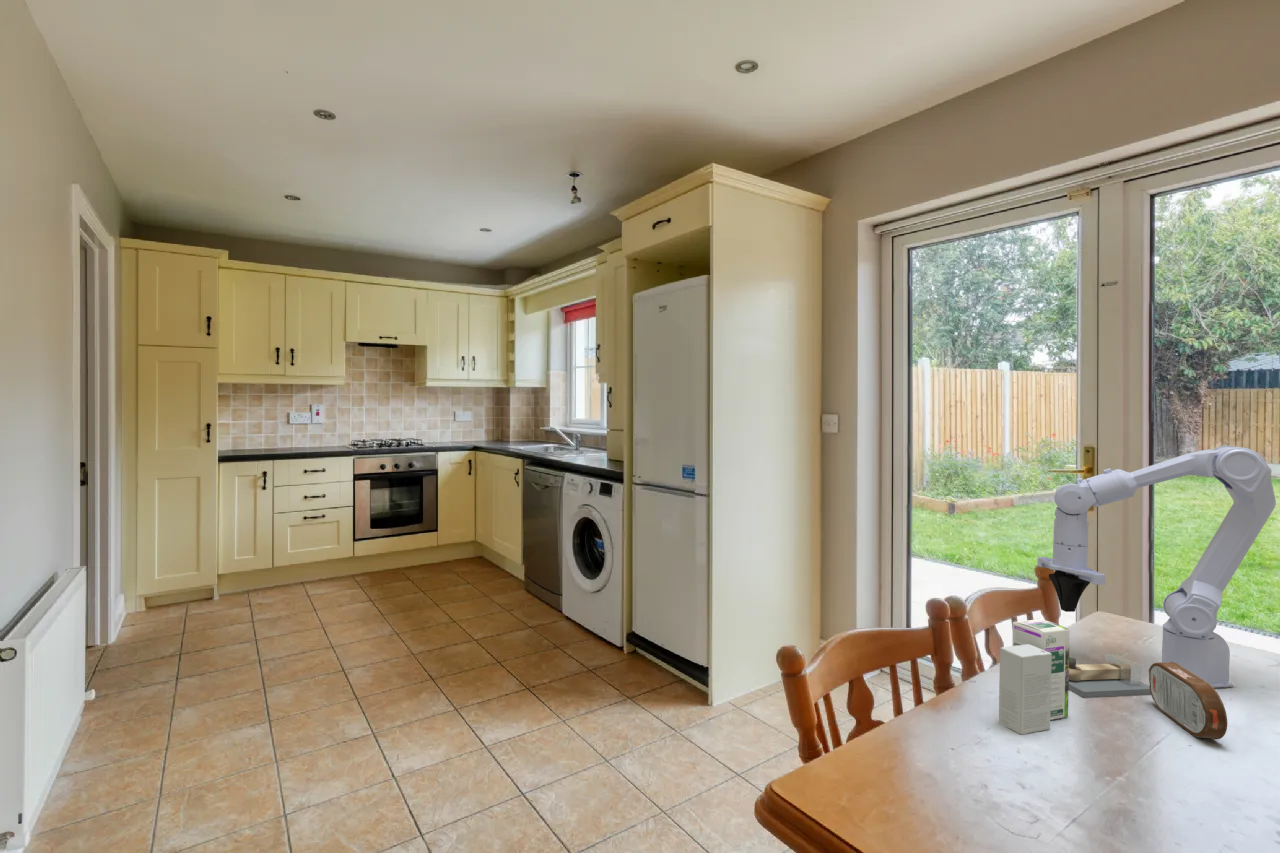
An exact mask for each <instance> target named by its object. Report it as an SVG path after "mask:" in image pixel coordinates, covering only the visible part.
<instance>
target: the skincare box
mask: <svg viewBox="0 0 1280 853" xmlns="http://www.w3.org/2000/svg"><path fill="white" fill-rule="evenodd" d="M1051 666H1052V654H1051V653H1049V652H1047V651H1045V650H1042V649H1040V648H1037V647H1035V646H1032V645H1030V644H1025V645H1018V646H1012V645H1010V646H1003V647H1001V646H1000V648H999V682H998V684H999V685H998V688H999V689H998V692H999V693H998V723H999V724H1001V725H1003V726H1005V727H1007V728H1009V729H1010V730H1011V731H1013V732H1015V733H1018V734H1019V735H1025V734H1031V733H1035V732H1042V731H1046V730H1047V731H1048V730H1050V729H1051V720H1050V712H1051Z"/></svg>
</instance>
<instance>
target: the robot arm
mask: <svg viewBox="0 0 1280 853" xmlns="http://www.w3.org/2000/svg"><path fill="white" fill-rule="evenodd" d="M1185 476H1197V477H1205V478H1215V479H1217V480H1218V481H1219V482H1220V483H1221V484H1222V485H1223V486H1224V488H1225V489H1226V491H1227V493H1228V494H1229V496H1230V498H1231V499H1232V501H1233V503H1232V505H1231V506H1230V508H1229V509H1228V511H1227V513H1226V514H1225V516H1224V518H1223V520H1222V521H1221V523H1220V525H1219V527H1218V528H1217V530H1216V532H1215V533H1214V535H1213V536H1212V538H1211V540H1210V541H1209V543H1208V544H1207V547H1206V548H1205V550H1204V552H1203V553H1202V555H1201V557H1200V558H1199V560H1198V562H1197V564H1196V565H1195V567H1194V569H1193V570H1192V572H1191V574H1190V575H1189V576H1188V577H1186V579H1183V581H1182V582H1181V583H1180V585H1179V587H1177V589H1176V590H1174V591H1172V592H1170V593H1168V594H1167V595H1166V596H1165V597H1164V599H1163V605H1162V606H1163V610H1164V612H1165V614H1166V615H1167V616H1168V617H1169V618H1168V619H1167V621H1165V622H1164V624H1162V640H1161V641H1162V642H1161V643H1162V645H1161V648H1162V649H1161V663H1169V662H1175V663H1177V664H1179V665H1180V666H1182V667H1183V668H1185V669H1187V670H1188V671H1190V672H1191V673H1193V674H1195V675H1196V676H1198V677H1199V678H1201V679H1203V680H1204V681H1206V682H1207V683H1209V684H1210V685H1211V686H1212V687H1213V688H1214V689H1215V688H1233V687H1234V685H1235V684H1234V683H1232V682H1230V680H1229V678H1230V656H1231V655H1230V646H1229V645H1228V643H1227V641H1226V640H1225V639H1224V638H1223V637H1222V636H1221V635H1220V634H1218V633H1216V632H1214V631H1215V630H1216V628H1217V625H1218V624H1217V623H1218V619H1217V615H1218V611H1219V609H1220V608H1221V606H1222V598H1223V592H1224V591H1225V590H1226V588H1227V586H1228V584H1229V583H1230V581H1231V579H1232V578H1233V576H1234V574H1235V573H1236V571H1237V570H1238V568H1239V566H1240V565H1241V564H1242V562H1243V560H1244V559H1245V557H1246V556H1247V554H1248V553H1249V550H1250V548H1251V547H1252V545H1253V544H1254V542H1255V541H1256V539H1257V537H1259V536H1258V535H1259V534H1260V533H1261V530H1262V529H1263V527H1264V526H1265V524H1266V523H1267V521H1268V519H1269V518H1270V516H1271V515H1272V513H1273V511H1274V510H1275V508H1276V505H1277V500H1276V496H1275V492H1274V487H1273V482H1272V468H1271V467H1270V466H1269V464H1268V463H1267V461H1265V459H1264V458H1263V457H1262V456H1261V455H1260V453H1258V452H1257V451H1255V450H1253V449H1251V448H1246V447H1241V446H1240V447H1239V446H1238V447H1237V446H1235V445H1234V446H1233V445H1222V446H1221V445H1220V446H1218V447H1215V448H1213V449H1209V448H1208V449H1203V450H1197V451H1194V452H1189V453H1185V454H1182V455H1179V456H1176V457H1173V458H1170V459H1167V460H1164V461H1161V462H1158V463H1155V464H1151V465H1148V466H1146V467H1142V468H1140V469H1136V470H1134V471H1131V472H1128V471H1125V470H1123V469H1120V468H1117V469H1114V470H1112V469H1111V468H1110V467H1109V468H1106V469H1103V473H1101V474H1098V475H1094V476H1091V477H1088V478H1086V479H1083V478H1082V477H1079V478H1076V479H1075V480H1076V482H1077V483H1072V482H1071V483H1065V484H1062V485H1060V486H1059V487H1058V488H1057V489H1056V491H1055V493H1054V495H1053V500H1054V502H1055V504H1056V507H1055V510H1054V517H1055V518H1054V520H1053V538H1052V539H1053V542H1052V557H1047V556H1037V567H1040V568H1045V569H1046V568H1047V569H1050V570H1052V571H1054V572H1053V573H1048V578H1049V580H1050V581H1051V583H1052V585H1053V588H1054V589H1055V592H1056V595H1057V599H1058V604H1059V608H1060V609H1061V611H1064V612H1066V613H1068V612H1069V613H1071V612H1073V613H1074V612H1076V610H1077V607H1078V604H1079V601H1080V598H1081V597H1082V595H1083V593H1084V591H1085V589H1086V588H1087V587H1088V586H1089V585H1090V583H1091V584H1092V585H1096V586H1099V585H1103V586H1104V585H1105V584H1106V574H1104V573H1101V572H1098V571H1097V570H1094V569H1093V568H1090V567H1089V566H1088V552H1089V550H1088V547H1089V545H1088V544H1089V522H1088V510H1090V508H1091V507H1095V508H1098V507H1101V506H1106V505H1109V504H1112V503H1115V502H1120V501H1123V500H1126V499H1130V498H1133V497H1134V496H1135V494H1136V492H1137V490H1138V489H1139V488H1143V487H1147V486H1150V485H1155V484H1158V483H1162V482H1163V483H1164V482H1165V481H1167V482H1168V481H1169V480H1175V479H1178V478H1181V477H1185Z"/></svg>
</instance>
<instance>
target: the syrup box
mask: <svg viewBox="0 0 1280 853" xmlns="http://www.w3.org/2000/svg"><path fill="white" fill-rule="evenodd" d="M1025 644H1030V645H1032V646H1035V647H1037V648H1040V649H1042V650H1045V651H1047V652H1049V653H1051V654H1052V666H1051V712H1050V721H1051V720H1052V721H1053V720H1056V719H1062V718H1065V719H1066V718H1068V717H1069V689H1068V687H1069V657H1070V629H1069V628H1067V627H1065V626H1063V625H1060V624H1059V623H1055V622H1053V621H1049V620H1045V619H1041V618H1035V619H1031V620H1030V619H1028V620H1020V621H1013V622H1012V645H1011V646H1018V645H1025Z"/></svg>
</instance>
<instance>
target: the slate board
mask: <svg viewBox="0 0 1280 853" xmlns="http://www.w3.org/2000/svg"><path fill="white" fill-rule="evenodd" d="M1081 664H1082V663H1080V664H1077V663H1076V665H1081ZM1068 691H1071V692H1072V693H1074V694H1076V695H1078V696H1080V697H1082V698H1085V699H1086V698H1087V699H1088V698H1105V697H1124V696H1126V697H1127V696H1129V697H1130V696H1144V695H1145V696H1147V695H1148V696H1149V695H1151V693H1150V685H1149V684H1146V683H1144V682H1141V683H1140V686H1129V685H1127V684H1125V683H1123V682H1121V681H1120V679H1101V680H1080V681H1072V680H1069V687H1068ZM1151 696H1152V695H1151Z"/></svg>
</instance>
